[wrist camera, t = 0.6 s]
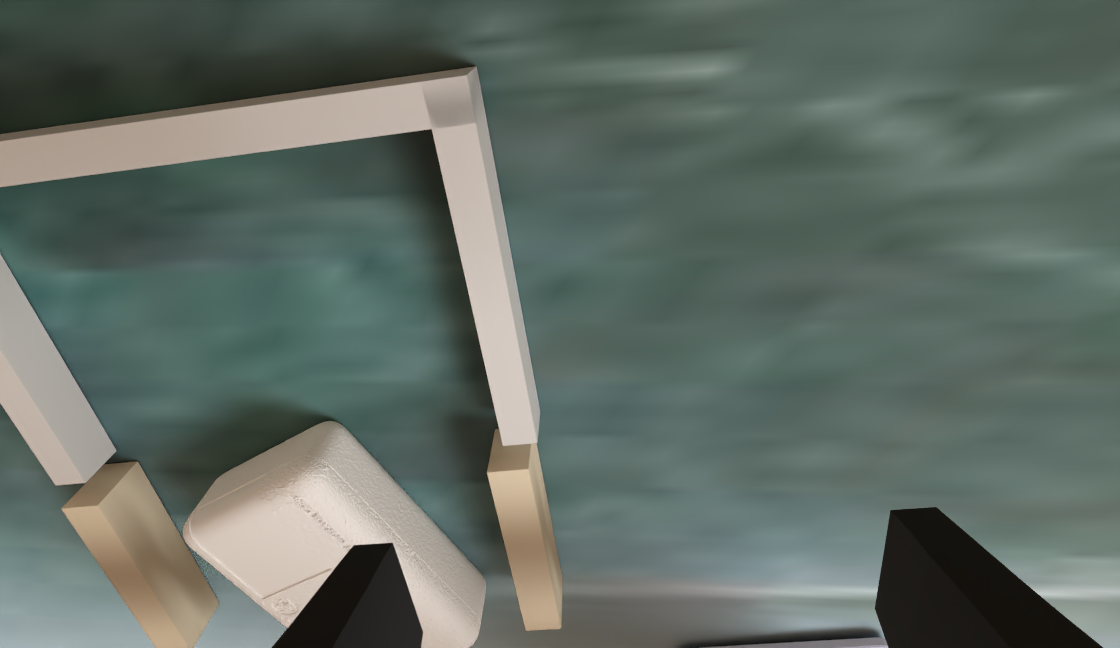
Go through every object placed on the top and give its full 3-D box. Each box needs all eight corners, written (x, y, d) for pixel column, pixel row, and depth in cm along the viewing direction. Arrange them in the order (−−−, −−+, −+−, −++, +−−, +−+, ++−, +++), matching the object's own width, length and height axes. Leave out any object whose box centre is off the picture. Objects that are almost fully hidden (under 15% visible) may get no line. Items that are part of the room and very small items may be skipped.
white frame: (540, 411, 20) (537, 442, 18) (88, 453, 21) (55, 485, 20) (476, 66, 15) (466, 75, 14) (-101, 148, 16) (-161, 163, 15)
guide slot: (562, 579, 23) (561, 628, 22) (189, 605, 25) (159, 653, 23) (532, 425, 20) (528, 469, 18) (104, 464, 21) (61, 508, 20)
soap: (496, 577, 24) (485, 653, 21) (380, 623, 25) (356, 699, 23) (337, 405, 20) (301, 470, 18) (213, 470, 22) (163, 540, 19)
